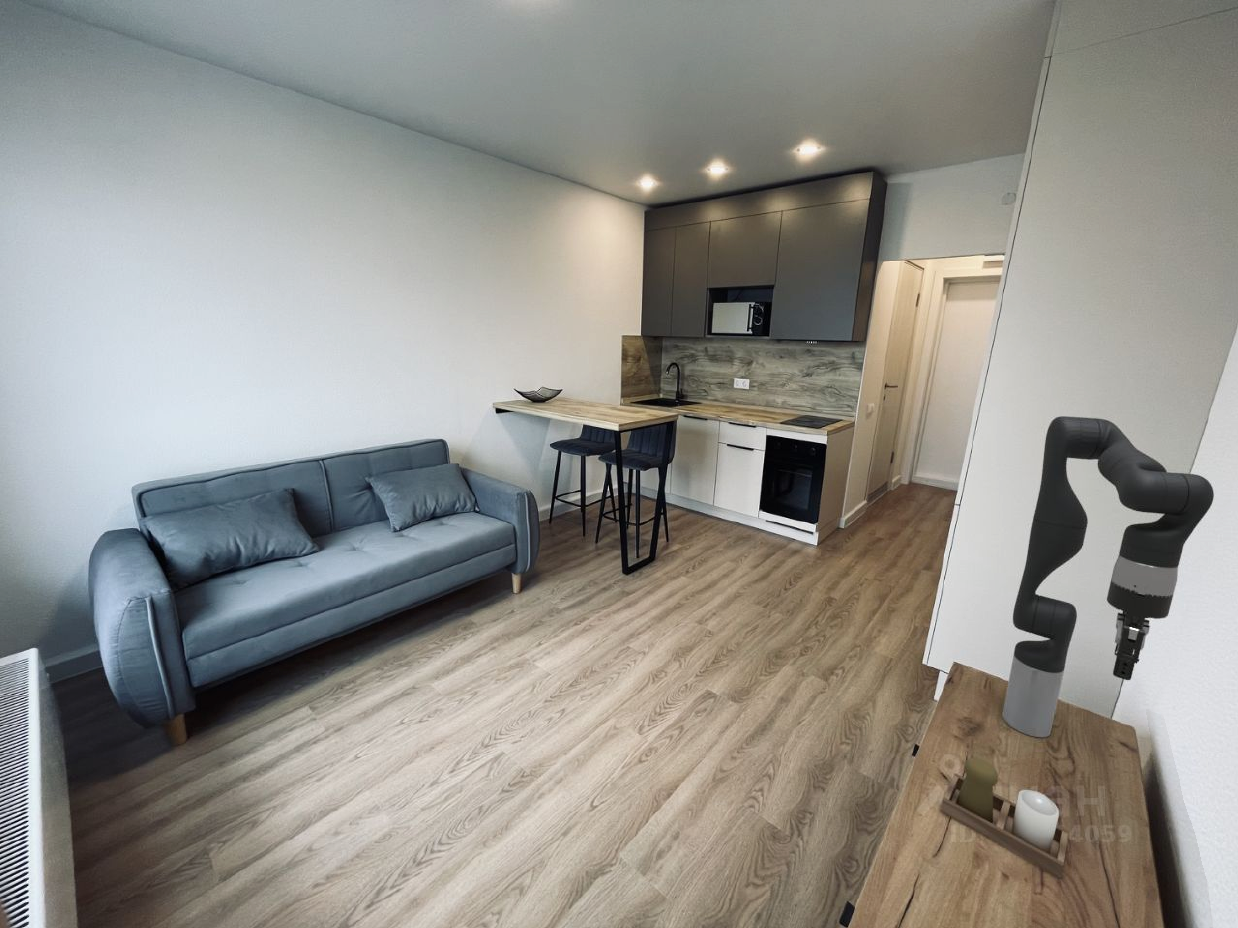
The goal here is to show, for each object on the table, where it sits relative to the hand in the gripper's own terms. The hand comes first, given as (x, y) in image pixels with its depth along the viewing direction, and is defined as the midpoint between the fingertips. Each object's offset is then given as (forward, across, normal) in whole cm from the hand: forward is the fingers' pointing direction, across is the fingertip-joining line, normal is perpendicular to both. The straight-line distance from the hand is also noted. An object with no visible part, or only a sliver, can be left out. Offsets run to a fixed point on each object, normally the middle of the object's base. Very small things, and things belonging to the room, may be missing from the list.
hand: (1121, 667), depth 88 cm
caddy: (+33, +15, -11) cm, 38 cm away
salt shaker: (+32, +15, -7) cm, 36 cm away
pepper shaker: (+32, +15, -15) cm, 39 cm away
